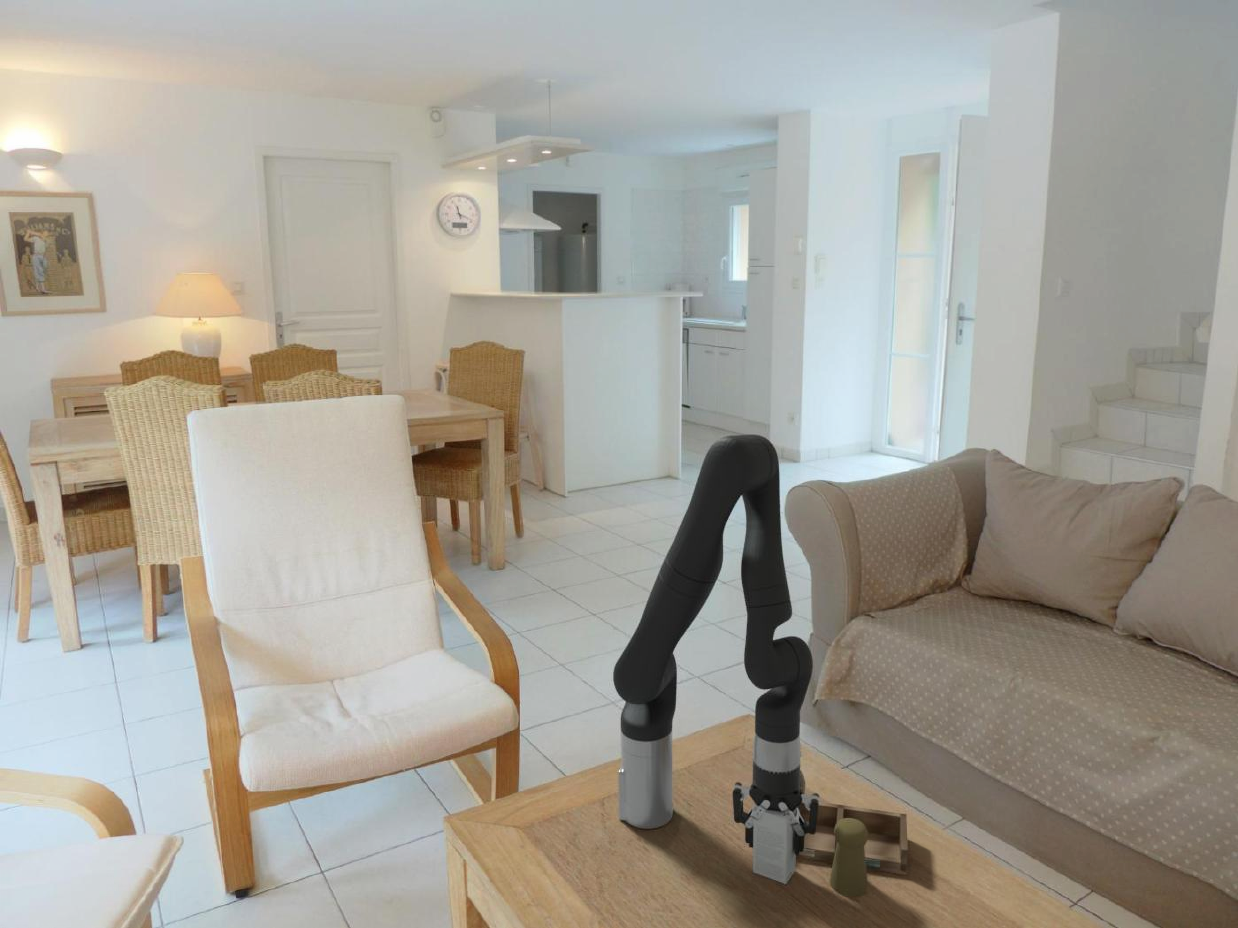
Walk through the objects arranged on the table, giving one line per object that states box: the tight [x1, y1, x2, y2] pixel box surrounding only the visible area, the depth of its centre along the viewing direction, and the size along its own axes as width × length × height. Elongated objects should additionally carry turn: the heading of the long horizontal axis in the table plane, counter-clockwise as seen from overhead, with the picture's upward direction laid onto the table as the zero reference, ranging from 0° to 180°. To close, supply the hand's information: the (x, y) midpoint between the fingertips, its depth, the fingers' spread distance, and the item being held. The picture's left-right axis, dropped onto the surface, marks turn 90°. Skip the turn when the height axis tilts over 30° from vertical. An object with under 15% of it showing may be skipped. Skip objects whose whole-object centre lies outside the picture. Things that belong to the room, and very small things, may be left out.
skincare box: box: [752, 805, 797, 885], centre depth 148 cm, size 6×4×12 cm
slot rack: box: [796, 801, 909, 876], centre depth 155 cm, size 22×10×5 cm, turn 74°
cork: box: [829, 818, 869, 898], centre depth 145 cm, size 6×6×11 cm
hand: (774, 847), depth 148 cm, fingers closed on skincare box, 7 cm apart
